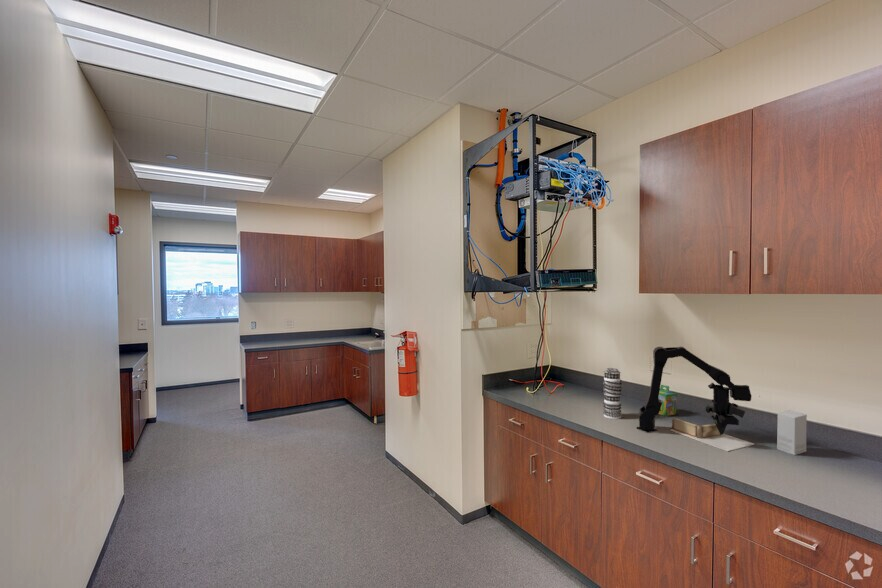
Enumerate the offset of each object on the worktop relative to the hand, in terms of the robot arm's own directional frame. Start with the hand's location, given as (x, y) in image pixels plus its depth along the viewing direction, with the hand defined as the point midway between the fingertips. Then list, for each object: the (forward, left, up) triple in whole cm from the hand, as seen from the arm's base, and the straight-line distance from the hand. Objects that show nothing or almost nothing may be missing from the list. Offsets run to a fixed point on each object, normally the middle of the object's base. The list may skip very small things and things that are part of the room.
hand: (721, 434), depth 174 cm
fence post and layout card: (-3, +4, -2) cm, 5 cm away
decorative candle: (-21, +42, -2) cm, 47 cm away
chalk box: (+8, +35, -2) cm, 36 cm away
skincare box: (+12, -20, -2) cm, 24 cm away
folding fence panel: (-2, +3, -2) cm, 4 cm away
